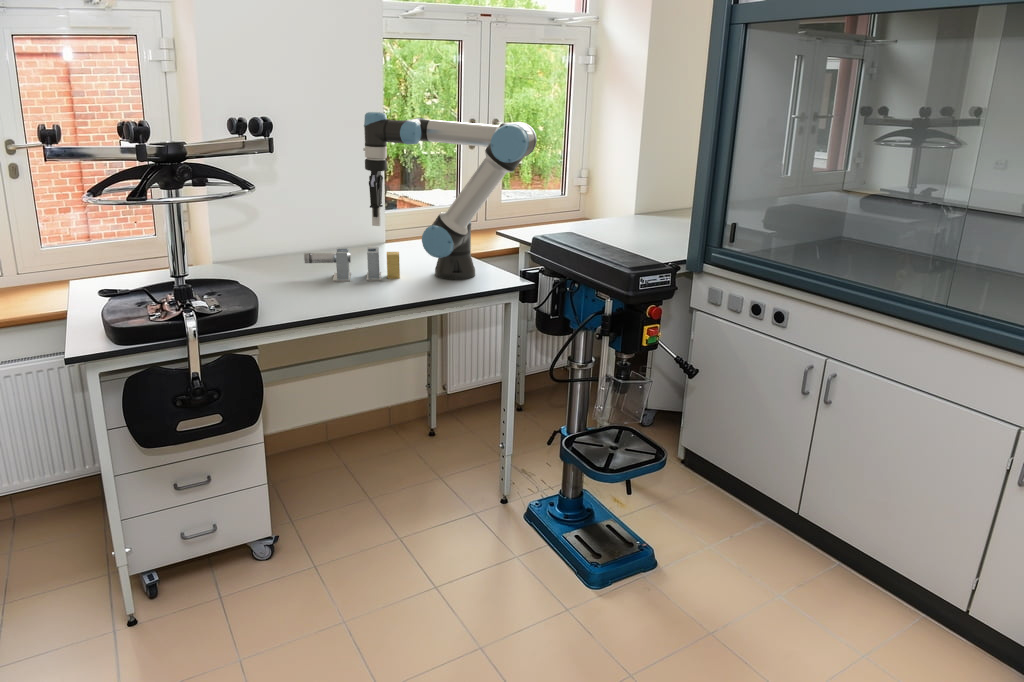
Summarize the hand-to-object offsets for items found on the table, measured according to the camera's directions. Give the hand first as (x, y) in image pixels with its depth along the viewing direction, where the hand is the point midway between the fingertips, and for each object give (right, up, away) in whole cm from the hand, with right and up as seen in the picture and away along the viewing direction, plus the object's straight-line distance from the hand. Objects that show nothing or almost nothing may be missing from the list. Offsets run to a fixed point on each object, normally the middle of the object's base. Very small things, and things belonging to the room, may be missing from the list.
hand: (376, 225), depth 265 cm
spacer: (+5, -18, +7) cm, 20 cm away
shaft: (-18, -13, +1) cm, 22 cm away
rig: (-8, -18, +5) cm, 21 cm away
